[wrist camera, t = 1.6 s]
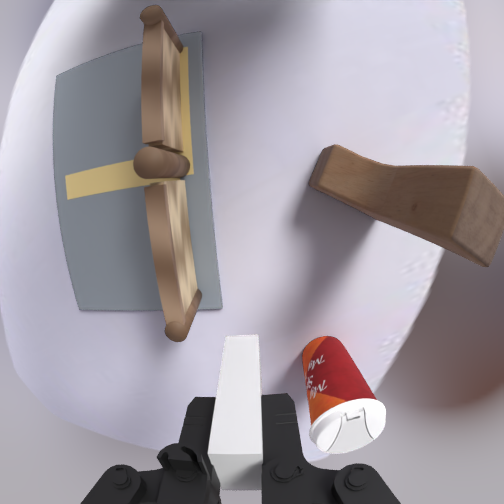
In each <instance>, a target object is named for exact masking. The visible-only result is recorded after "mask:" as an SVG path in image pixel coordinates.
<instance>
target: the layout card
mask: <svg viewBox="0 0 504 504" xmlns="http://www.w3.org/2000/svg"><path fill="white" fill-rule="evenodd" d="M177 36H178V37H179V39H180V41H181V43H182V44H183V51H182V52H181V53H180V91H181V117H182V136H183V152H177V153H176V154H179V155H183V156H185V157H186V158H187V159H188V160H189V162H190V170H189V172H188V173H187V175H186V176H184V177H182V178H159V179H143V178H141V177H139V176H138V175H137V174H136V172H135V171H134V167H133V161H134V157H135V155H136V154H137V152H138V151H139V150H141V149H142V148H144V147H149V144H144V143H143V142H142V115H141V72H142V47H143V44H139V45H136V46H132V47H129V48H125V49H122V50H119V51H116V52H113V53H110V54H107V55H105V56H102V57H99V58H97V59H94V60H91V61H89V62H86V63H84V64H81V65H79V66H77V67H74V68H72V69H70V70H68V71H66V72H63V73H61V74H59V75H57V76H56V84H55V96H54V112H53V162H54V178H55V190H56V200H57V208H58V216H59V223H60V229H61V235H62V241H63V246H64V251H65V256H66V261H67V265H68V269H69V274H70V278H71V282H72V286H73V289H74V293H75V297H76V300H77V304H78V307H79V310H119V311H157V310H163V307H162V303H161V298H160V293H159V288H158V283H157V277H156V272H155V266H154V260H153V254H152V247H151V241H150V234H149V227H148V219H147V211H146V202H145V193H144V187H149V186H150V183H155V182H162V181H176V180H185V187H186V197H187V207H188V217H189V226H190V235H191V243H192V251H193V259H194V266H195V274H196V281H197V287H198V289H199V290H200V291H201V293H202V299H201V302H200V304H199V307H198V309H197V310H201V309H222V308H223V305H222V296H221V288H220V280H219V271H218V262H217V253H216V243H215V234H214V223H213V213H212V202H211V191H210V179H209V166H208V153H207V138H206V123H205V105H204V85H203V60H202V32H201V31H199V32H193V33H187V34H182V35H177Z"/></svg>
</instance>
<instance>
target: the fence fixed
mask: <svg viewBox="0 0 504 504" xmlns="http://www.w3.org/2000/svg"><path fill="white" fill-rule="evenodd" d="M140 19H141V21H142V22H143V23H144V32H143V47H142V72H141V115H142V142H143V143H144V144H149V147H144V148H142V149H141V150H139V151H138V152H137V154H136V155H135V157H134V161H133V167H134V171H135V172H136V174H137V175H138V176H139V177H141V178H143V179H159V178H182V177H184V176H186V175H187V173H188V172H189V170H190V162H189V160H188V159H187V158H186V157H185V156H183V155H179V154H176V153H177V152H183V136H182V117H181V91H180V53H181V52H182V51H183V44H182V43H181V41H180V39H179V37H178V36H177V34H176V32H175V30H174V29H173V27H172V25H171V23H170V22H169V20H168V18H167V17H166V15H165V13H164V12H163V10H162V8H161V7H160V6H158V5H152V6H149V7H147V8H145V9H144V10H143V11H142V12H141V14H140Z"/></svg>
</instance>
